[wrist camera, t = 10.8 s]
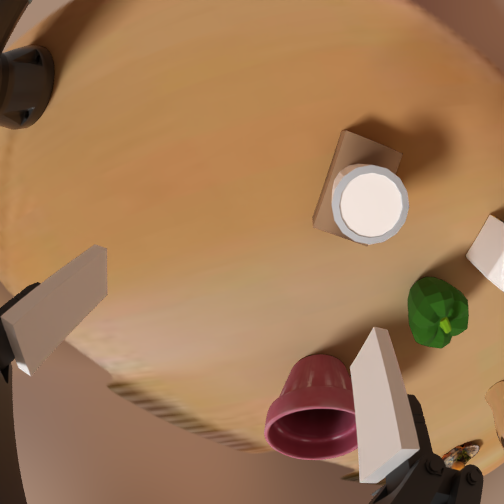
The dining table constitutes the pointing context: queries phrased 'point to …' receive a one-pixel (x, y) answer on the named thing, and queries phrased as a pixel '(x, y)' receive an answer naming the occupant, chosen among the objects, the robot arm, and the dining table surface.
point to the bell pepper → (436, 312)
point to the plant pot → (314, 411)
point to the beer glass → (497, 408)
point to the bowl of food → (460, 456)
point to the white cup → (369, 203)
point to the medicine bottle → (489, 251)
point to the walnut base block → (346, 153)
